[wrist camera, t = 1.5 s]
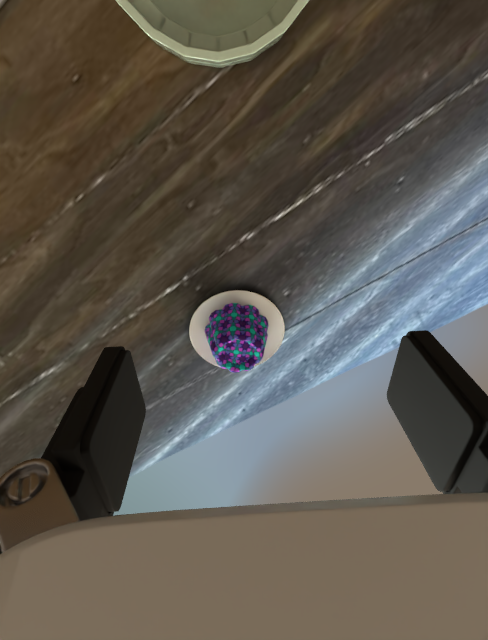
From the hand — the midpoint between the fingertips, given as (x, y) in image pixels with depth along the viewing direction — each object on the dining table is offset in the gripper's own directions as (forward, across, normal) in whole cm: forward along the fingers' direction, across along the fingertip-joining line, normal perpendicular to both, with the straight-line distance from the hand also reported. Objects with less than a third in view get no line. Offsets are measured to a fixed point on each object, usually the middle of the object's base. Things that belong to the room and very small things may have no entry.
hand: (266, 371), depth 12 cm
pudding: (+26, +1, +16) cm, 31 cm away
